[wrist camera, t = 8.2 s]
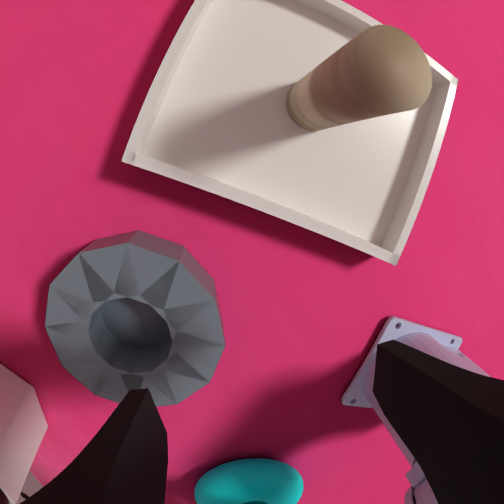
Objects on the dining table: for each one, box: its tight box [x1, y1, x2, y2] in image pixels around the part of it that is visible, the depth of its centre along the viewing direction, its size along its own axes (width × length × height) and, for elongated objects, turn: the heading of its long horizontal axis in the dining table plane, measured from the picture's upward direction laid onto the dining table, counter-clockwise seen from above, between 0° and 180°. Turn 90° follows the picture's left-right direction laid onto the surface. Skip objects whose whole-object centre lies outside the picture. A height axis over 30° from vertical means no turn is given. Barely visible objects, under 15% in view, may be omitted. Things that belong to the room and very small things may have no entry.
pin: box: [286, 25, 432, 131], centre depth 12 cm, size 3×3×8 cm
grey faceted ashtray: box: [45, 230, 225, 406], centre depth 17 cm, size 10×10×3 cm
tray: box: [121, 0, 458, 266], centre depth 16 cm, size 16×13×2 cm
